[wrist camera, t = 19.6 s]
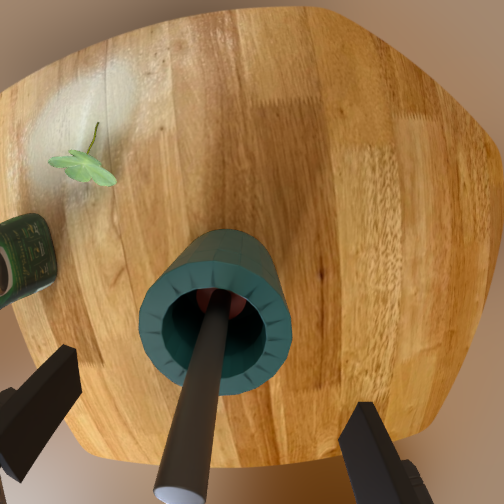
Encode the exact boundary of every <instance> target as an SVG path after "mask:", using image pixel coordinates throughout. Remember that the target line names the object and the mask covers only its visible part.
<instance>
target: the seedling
mask: <svg viewBox="0 0 504 504" xmlns="http://www.w3.org/2000/svg"><path fill="white" fill-rule="evenodd" d="M98 124H99V122H98V123H97V125H96V127H95V133H94V138H93V141H92V143H91V145H90V147H89V149H88V151H87V154H86V153H83V152H80V151H76V150H69V153H70V154H71V155H73V156H62V157H60V156H58V157H52V158H51V159H49V161H48V163H49V164H50V165H51V166H53V167H57V168H64V167H67V168H66V169H65V173H66V174H67V175H68V176H69V177H70V178H72V179H75V180H77V181H80V182H89V181H90V180H91V178H92V179H93V180H94V181H95V183H97V184H98V185H100V186H108V187H110V186H113V185H115V184H116V183H117V181H116V179H115V177H114V176H113V175H112V174H111V173H110V172H109V171H107V170H105V169H104V168H102V167H100V166H101V165H102V164H101V163H100V162H99V161H98V160H96V159H95V158H93V157H92V156H90V155H88V153H89V151H90V149H91V147H92V145H93V143H94V141H95V137H96V131H97V127H98ZM70 166H72V167H70Z"/></svg>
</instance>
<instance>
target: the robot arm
mask: <svg viewBox="0 0 504 504" xmlns="http://www.w3.org/2000/svg"><path fill="white" fill-rule="evenodd" d="M81 393H82V388H81V382H80V375H79V368H78V360H77V352H76V349H75V348H72V347H69V346H67V345H64V344H63V345H62V346H61V347H60V348H59V349H58V350H57V351H56V352H55V353H54V354H53V355H51V356H50V357H49V358H48V359H47V360H46V361H45V362H44V363H43V364H42V365H41V366H40V367H39V368H38V369H37V371H35V372H34V373H33V375H31V377H29V379H28V380H27V381H26V382H25V383H24V384H23V385H22V386H21V387H20V388H19V389H18V390H15V389H13V388H12V387H10V388H8V389H6V390H3V391H1V392H0V468H1V467H2V468H3V470H4V471H5V473H6V474H7V475H9V476H10V477H12V478H13V479H15V480H16V481H18V482H19V483H21V482H22V481H23V479H24V478H25V476H26V474H27V472H28V471H29V470H30V468H31V467H32V465H33V464H34V462H35V460H36V459H37V457H38V456H39V454H40V453H41V451H42V450H43V448H44V447H45V445H46V444H47V442H48V441H49V439H50V438H51V436H52V435H53V433H54V432H55V430H56V429H57V427H58V426H59V425H60V423H61V422H62V420H63V419H64V417H65V416H66V415H67V413H68V412H69V410H70V409H71V407H72V406H73V405H74V403H75V402H76V400H77V399H78V398H79V396H80V395H81ZM338 441H339V445H340V448H341V451H342V455H343V458H344V461H345V465H346V468H347V471H348V475H349V478H350V482H351V485H352V489H353V492H354V496H355V498H356V503H357V504H434V503H433V501H432V499H431V497H430V495H429V493H428V490H427V488H426V486H425V484H423V480H422V478H421V477H420V474H419V472H418V470H417V468H416V466H415V465H413V463H412V462H410V461H409V460H400V457H399V455H398V453H397V451H396V449H395V447H394V445H393V443H392V441H391V439H390V436H389V434H388V432H387V430H386V428H385V426H384V424H383V422H382V420H381V418H380V416H379V414H378V412H377V410H376V408H375V406H374V404H373V402H358V404H357V406H356V408H355V410H354V411H353V413H352V415H351V417H350V419H349V421H348V423H347V425H346V426H345V428H344V430H343V432H342V433H341V435H340V437H339V439H338ZM0 504H7V503H6V499H5V495H4V490H3V486H2V481H1V476H0Z"/></svg>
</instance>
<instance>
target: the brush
mask: <svg viewBox="0 0 504 504" xmlns="http://www.w3.org/2000/svg"><path fill="white" fill-rule="evenodd" d="M196 299H197V303H198V306H199V308H200V309H201V311H202V312H203V313H204V314H205V316H204V319H203V322H202V325H201V328H200V332H199V335H198V338H197V341H196V344H195V348H194V351H193V354H192V357H191V360H190V364H189V367H188V370H187V374H186V377H185V380H184V383H183V387H182V390H181V393H180V397H179V400H178V404H177V407H176V410H175V414H174V417H173V421H172V424H171V428H170V431H169V435H168V438H167V442H166V445H165V449H164V452H163V456H162V459H161V463H160V467H159V471H158V474H157V478H156V481H155V485H154V489H153V492H154V494H155V496H156V497H157V498H158V499H159V500H161V501H163V502H165V503H167V504H205V502H206V496H207V487H208V479H209V470H210V461H211V453H212V445H213V437H214V428H215V420H216V412H217V404H218V397H219V389H220V381H221V373H222V366H223V358H224V351H225V343H226V336H227V329H228V321H229V320H230V319H232V318H235V317H236V316H238V315H239V314H240V313H241V312H242V311H243V309H244V307H245V305H246V301H247V299H245V298H244V297H242V296H240V295H238V294H236V293H234V292H232V291H230V290H225V289H220V288H214V287H212V288H202V289H197V292H196Z"/></svg>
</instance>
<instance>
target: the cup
mask: <svg viewBox="0 0 504 504" xmlns="http://www.w3.org/2000/svg"><path fill="white" fill-rule="evenodd" d="M212 287H214V288H220V289H225V290H230V291H232V292H234V293H236V294H238V295H240V296H242V297H244V298H245V299H247V301H246V305H245V307H244V309H243V311H242V312H241V313H240V314H239V315H238V316H236V317H235V318H232V319H230V320H229V321H228V329H227V336H226V343H225V351H224V358H223V366H222V373H221V381H220V389H219V396H223V395H236V394H240V393H243V392H246V391H249V390H252V389H255V388H257V387H259V386H260V385H262V384H263V383H264V382H266V381H267V380H269V379H270V378H271V377H273V376H274V375H275V374H276V372H277V371H278V370H279V368H280V367H281V366H282V364H283V363H284V362H285V360H286V359H287V356H288V352H289V349H290V346H291V342H292V325H291V316H290V313H289V310H288V307H287V303H286V300H285V297H284V294H283V291H282V288H281V284H280V281H279V278H278V275H277V272H276V269H275V266H274V264H273V261H272V259H271V256H270V255H269V253H268V251H267V250H266V248H265V247H264V246H263V245H262V244H261V243H260V242H259V241H258V240H257V239H255V238H254V237H252V236H250V235H249V234H247V233H244V232H242V231H238V230H232V229H220V230H214V231H211V232H208V233H206V234H203V235H202V236H200V237H198V238H197V239H195V240H194V241H193V242H192V243H191V244H190V245H189V246H188V247H187V248H186V249H185V250H184V251H183V252H182V254H181V255H180V256H179V257H178V258H177V259H176V260H175V261H174V262H173V263H172V264H171V265H170V266H169V267H168V269H167V270H166V271H165V272H164V273H163V274H162V275H161V276H160V277H159V278H158V279H157V281H156V282H155V283H154V284H153V285H152V286H151V287H150V288H149V290H148V291H147V293H146V296H145V298H144V300H143V303H142V305H141V307H140V311H139V334H140V337H141V341H142V344H143V347H144V350H145V352H146V354H147V355H148V357H149V358H150V360H151V361H152V363H153V364H154V366H155V367H156V368H157V369H158V370H159V371H160V372H161V373H162V374H164V375H165V376H166V377H167V378H168V379H170V380H171V381H172V382H174V383H175V384H177V385H180V386H182V387H183V383H184V380H185V377H186V374H187V370H188V367H189V364H190V360H191V357H192V354H193V351H194V348H195V344H196V341H197V338H198V335H199V332H200V328H201V325H202V322H203V319H204V316H205V314H204V313H203V312H202V311H201V309H200V308H199V306H198V303H197V299H196V292H197V289H202V288H212Z"/></svg>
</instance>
